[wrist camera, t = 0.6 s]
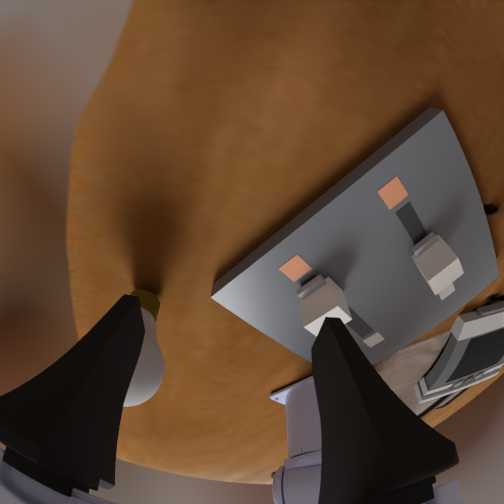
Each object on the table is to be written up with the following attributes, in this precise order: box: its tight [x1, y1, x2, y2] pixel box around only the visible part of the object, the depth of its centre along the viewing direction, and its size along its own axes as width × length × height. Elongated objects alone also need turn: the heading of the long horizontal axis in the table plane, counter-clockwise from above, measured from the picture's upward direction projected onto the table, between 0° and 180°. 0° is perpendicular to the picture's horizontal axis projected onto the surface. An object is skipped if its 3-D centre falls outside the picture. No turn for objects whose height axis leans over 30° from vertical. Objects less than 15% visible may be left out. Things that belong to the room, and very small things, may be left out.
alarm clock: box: [414, 301, 504, 403], centre depth 27 cm, size 17×5×16 cm
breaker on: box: [297, 274, 352, 337], centre depth 18 cm, size 3×3×3 cm
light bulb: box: [123, 289, 164, 407], centre depth 18 cm, size 6×6×10 cm
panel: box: [211, 107, 499, 366], centre depth 20 cm, size 18×20×2 cm
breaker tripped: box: [411, 231, 464, 295], centre depth 16 cm, size 3×3×3 cm
